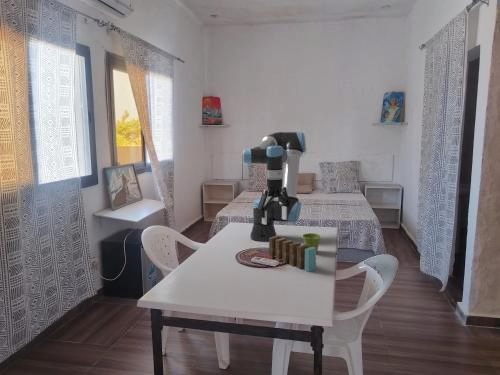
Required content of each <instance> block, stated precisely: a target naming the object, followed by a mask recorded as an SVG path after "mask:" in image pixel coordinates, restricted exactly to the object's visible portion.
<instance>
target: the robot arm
mask: <svg viewBox="0 0 500 375" xmlns="http://www.w3.org/2000/svg"><path fill="white" fill-rule="evenodd" d="M306 152H307V144H306V136H305V134H304V133H303V132H299V131H285V132H284V131H283V132H282V131H278V132H277V131H276V132H273V133H271V134H268V135H266V136H265V137H264V138H263V139H262V140H261V142H260V143H258V144H257V145H255V146H254V147H253V148H245V149H243V152H242V159H243V160H242V161H243V162H244V163H245V164H250V165H251V164H257V165H258V164H262V165H265V164H266V178H267V179H266V187H267V189H262V194H261V197H260V198H257V199H254V201H253V205H252V206H253V207H252V209H253V210H252V211H253V212H252V214H253V217H252V218H253V225H252V229H251V232H250V237H249V238H250V239H251V240H252V241H256V242H269V238H270V237H274V236H278V235H277V232H276V229H275V225H274V222H283V223H296V222H298V220H299V218H300V216H301V209H302V203H301V201H300V200H299V197H298V196H297V191H298V180H299V169H300V159H301V157H302V156H303V154H304V153H306ZM275 198H277V200H275Z"/></svg>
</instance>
